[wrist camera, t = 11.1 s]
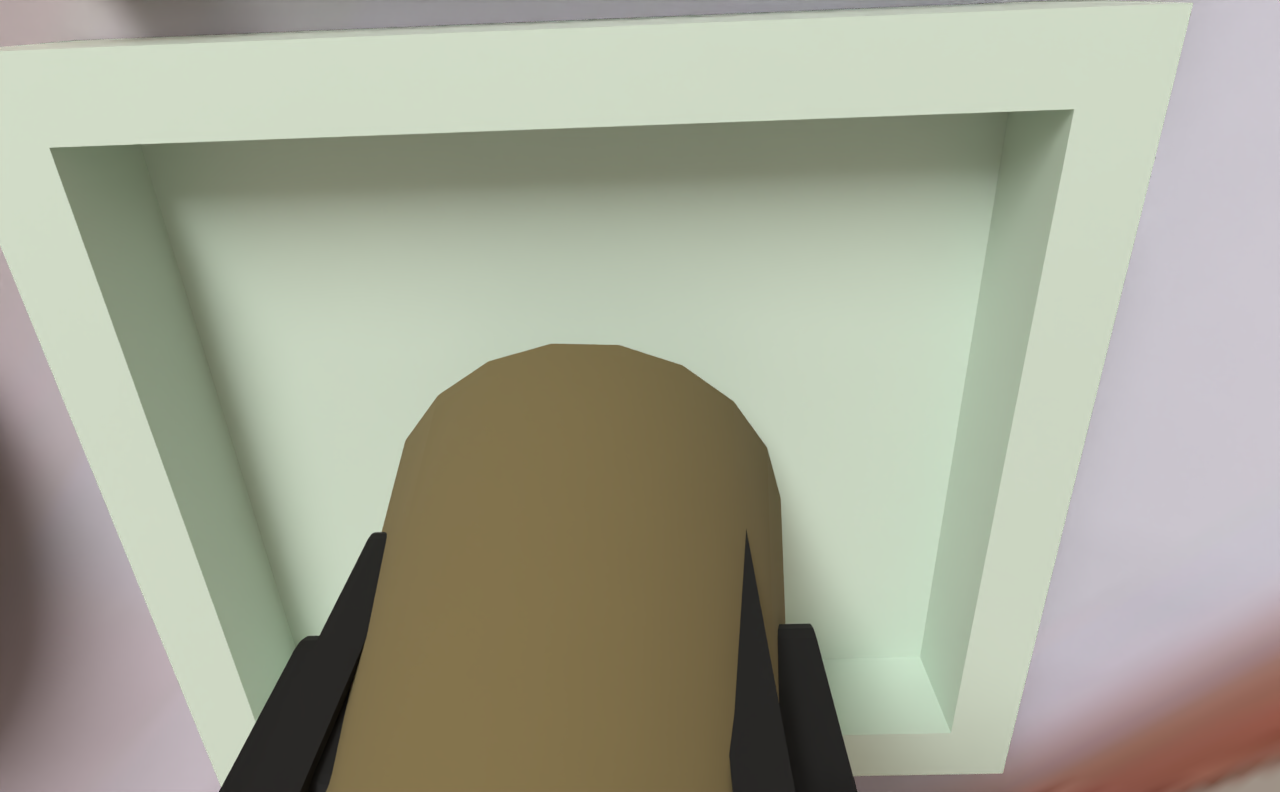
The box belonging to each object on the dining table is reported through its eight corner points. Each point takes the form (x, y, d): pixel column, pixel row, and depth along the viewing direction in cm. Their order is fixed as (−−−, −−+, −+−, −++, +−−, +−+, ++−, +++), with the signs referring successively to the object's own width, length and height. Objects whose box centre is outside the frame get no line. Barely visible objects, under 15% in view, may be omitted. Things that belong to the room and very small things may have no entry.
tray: (1076, -1, 13) (1193, 2, 10) (952, 662, 19) (1002, 773, 16) (72, 40, 13) (-78, 54, 10) (280, 676, 19) (221, 788, 17)
